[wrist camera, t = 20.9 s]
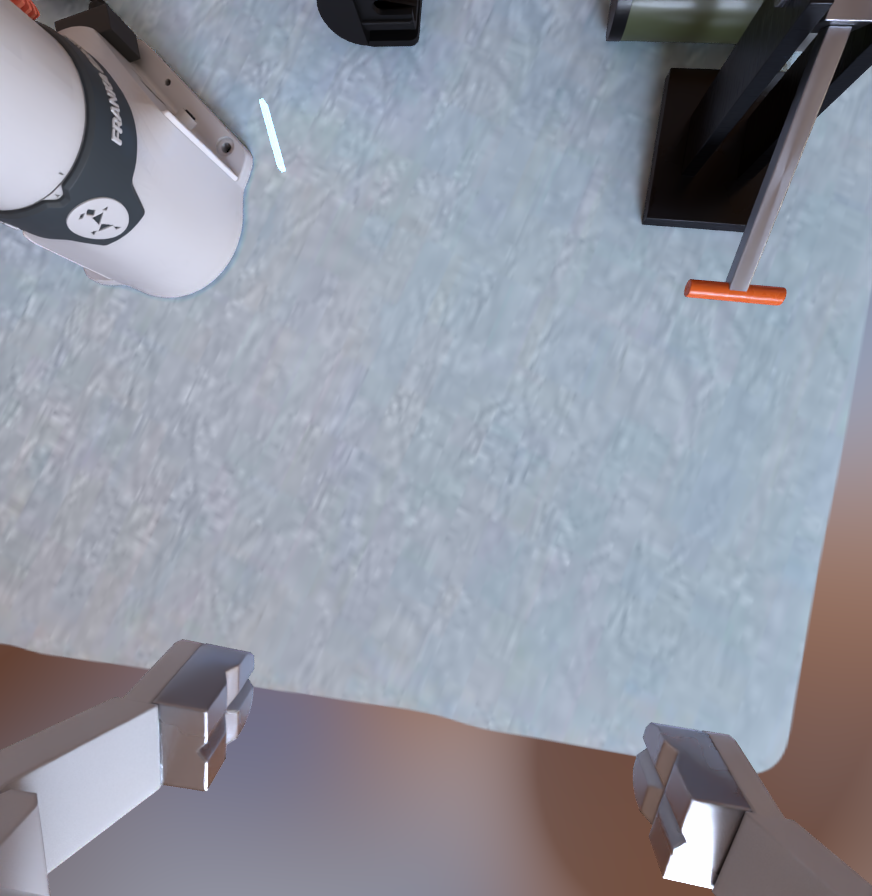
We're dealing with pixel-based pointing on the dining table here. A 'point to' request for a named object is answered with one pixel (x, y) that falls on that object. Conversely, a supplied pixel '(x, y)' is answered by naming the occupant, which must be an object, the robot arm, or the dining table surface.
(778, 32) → the black lever stand
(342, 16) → the end cap
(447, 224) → the dining table surface
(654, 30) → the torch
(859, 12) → the switch lever
